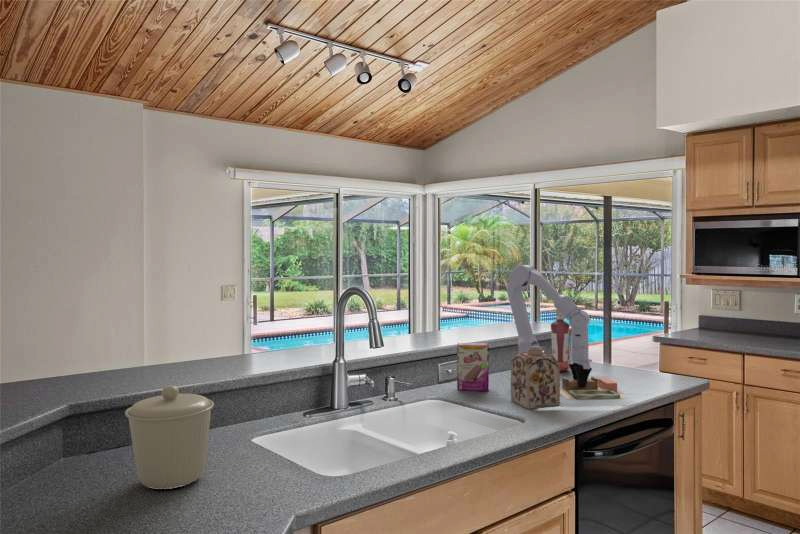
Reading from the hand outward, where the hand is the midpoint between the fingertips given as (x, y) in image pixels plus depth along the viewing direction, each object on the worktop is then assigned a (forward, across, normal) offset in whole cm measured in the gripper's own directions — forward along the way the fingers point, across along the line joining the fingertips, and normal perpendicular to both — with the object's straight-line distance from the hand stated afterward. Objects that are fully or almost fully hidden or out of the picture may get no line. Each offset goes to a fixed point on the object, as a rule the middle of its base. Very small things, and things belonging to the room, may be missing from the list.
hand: (579, 385), depth 202 cm
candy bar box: (+2, +7, +36) cm, 37 cm away
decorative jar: (+3, -13, +19) cm, 23 cm away
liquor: (+2, +36, -4) cm, 36 cm away
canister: (+2, -71, +114) cm, 134 cm away
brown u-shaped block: (+1, 0, 0) cm, 1 cm away
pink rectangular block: (+1, -1, -9) cm, 9 cm away
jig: (+2, -5, -2) cm, 6 cm away
